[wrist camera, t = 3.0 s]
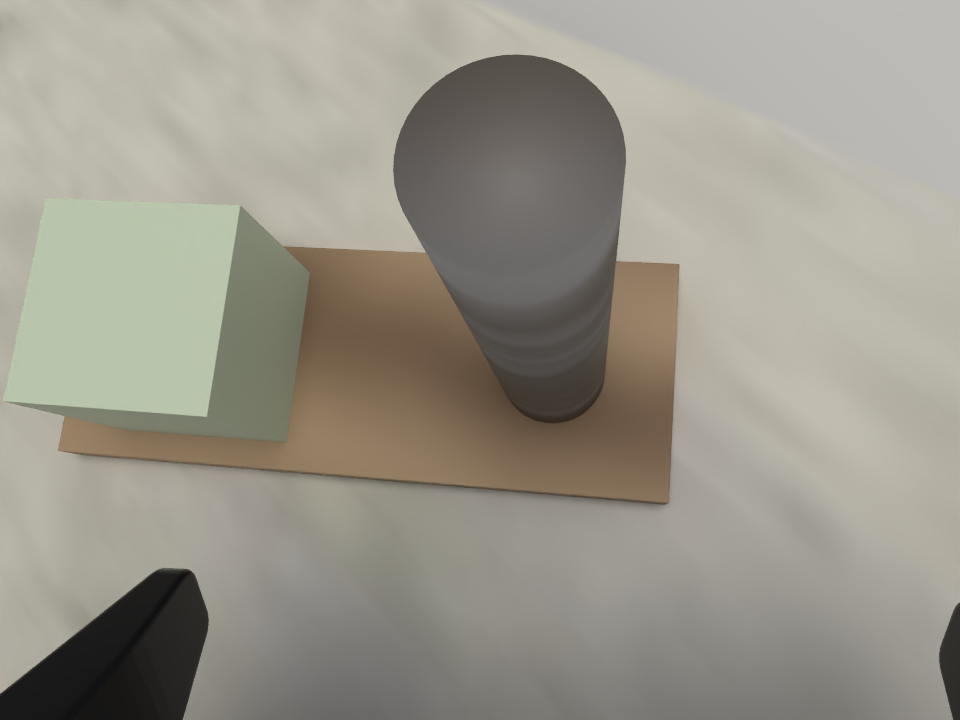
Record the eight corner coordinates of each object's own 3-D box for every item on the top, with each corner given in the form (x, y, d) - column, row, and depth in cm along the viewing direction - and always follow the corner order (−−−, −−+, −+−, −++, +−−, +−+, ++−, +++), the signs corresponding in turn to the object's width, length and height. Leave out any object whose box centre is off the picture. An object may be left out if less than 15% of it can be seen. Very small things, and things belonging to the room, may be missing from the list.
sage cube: (286, 442, 21) (206, 416, 17) (121, 429, 22) (2, 401, 18) (309, 272, 22) (239, 205, 18) (150, 264, 23) (45, 197, 18)
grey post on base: (665, 504, 21) (783, 448, 8) (80, 454, 23) (-532, 351, 10) (675, 276, 22) (791, -78, 9) (118, 250, 24) (-388, -63, 12)
